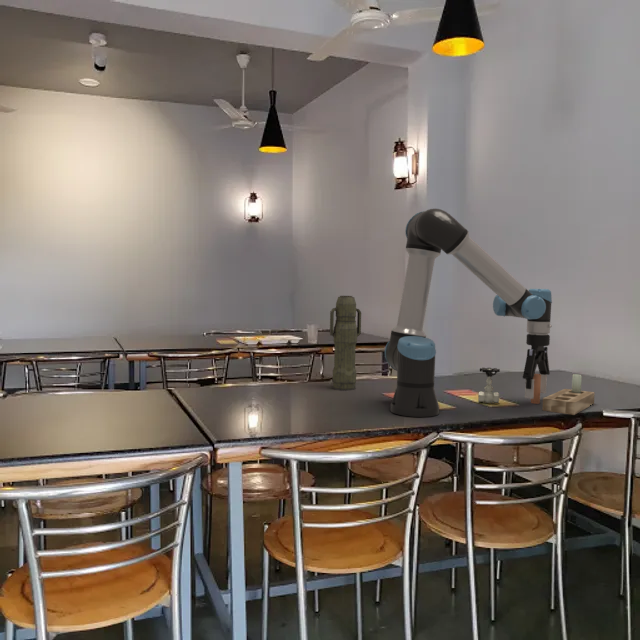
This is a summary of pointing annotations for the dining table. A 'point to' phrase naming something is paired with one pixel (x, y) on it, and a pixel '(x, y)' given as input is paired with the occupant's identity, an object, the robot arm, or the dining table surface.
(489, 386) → the valve
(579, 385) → the sage peg
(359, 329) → the thermos
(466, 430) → the dining table surface
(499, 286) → the robot arm
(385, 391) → the dining table surface
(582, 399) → the beech block
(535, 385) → the terracotta peg
